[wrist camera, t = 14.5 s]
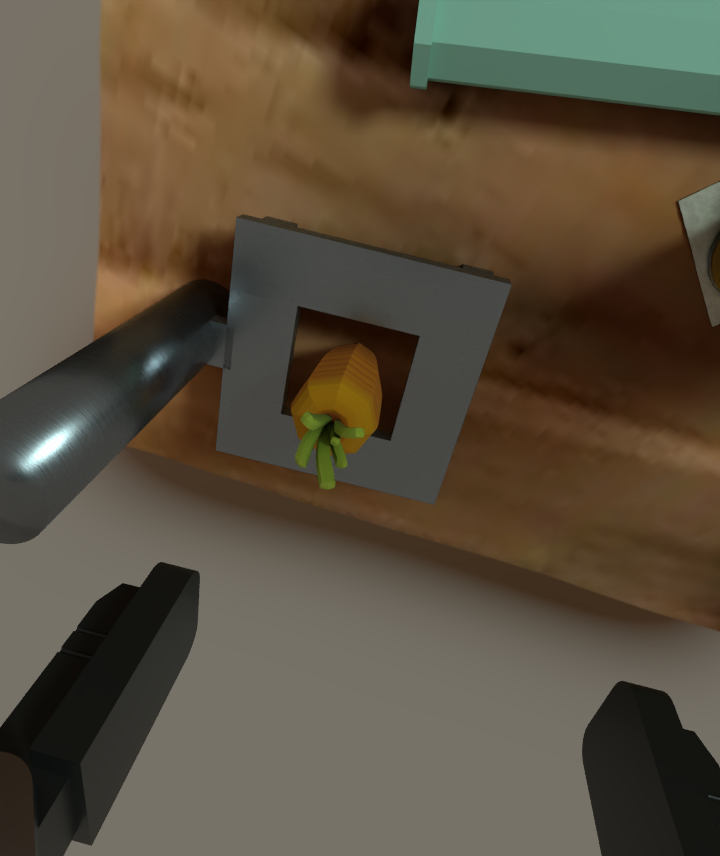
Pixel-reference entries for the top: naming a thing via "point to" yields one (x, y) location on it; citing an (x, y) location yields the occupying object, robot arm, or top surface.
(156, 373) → the square hole stand
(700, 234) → the condiment
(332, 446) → the carrot
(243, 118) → the top surface
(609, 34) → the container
